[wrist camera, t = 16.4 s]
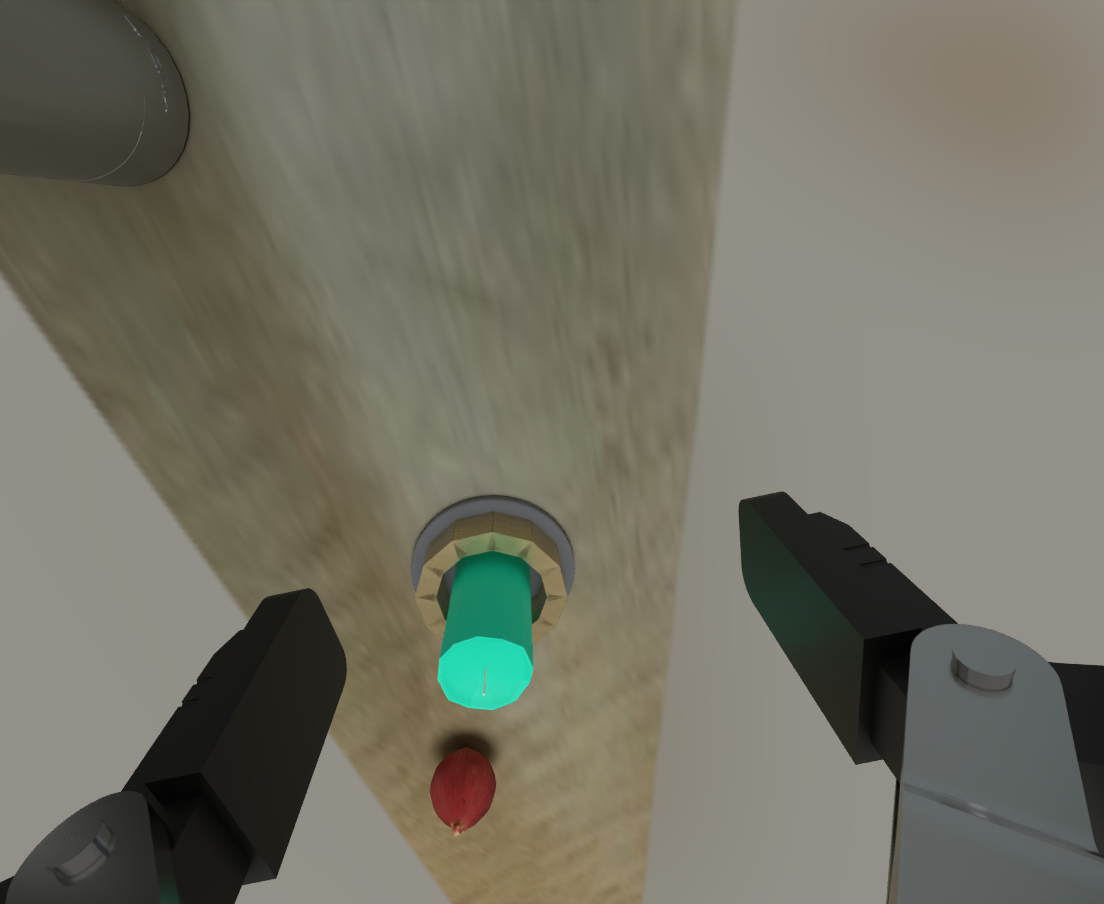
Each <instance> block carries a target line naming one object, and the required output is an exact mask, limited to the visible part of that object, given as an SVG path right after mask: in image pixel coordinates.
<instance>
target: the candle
mask: <svg viewBox="0 0 1104 904" xmlns="http://www.w3.org/2000/svg"><path fill="white" fill-rule="evenodd" d="M532 671H533V644H532V615H531V587H530V568H529V566H528V564H527V562H526V561H525V560H523V559H522V558H521V557H517V556H513V555H509V554H504V553H500V552H496V551H488V552H484V553H479V554H475V555H470V556H466V557H463V558H462V559H460V560H459V561H458V562H457V565H456V570H455V576H454V582H453V587H452V593H451V598H450V604H449V609H448V615H447V620H446V626H445V631H444V637H443V643H442V648H441V654H440V660H439V671H438V681H439V683H440V685H441V687H442V689H443V691H444V693H445V695H446V697H447V698H448V700H450V701H453V702H455V703H458V704H460V705H463V706H465V707H468V708H476V709H488V710H494V709H497V708H499V707H502V706H505V705H507V704H510V703H512V702H515V701H516V700H517V699H518V697H519V696H520V695H521V693H522V692H523V691H524V689H525V688H526V687H527V685H528V684H529V683H530V680H531V676H532Z"/></svg>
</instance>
